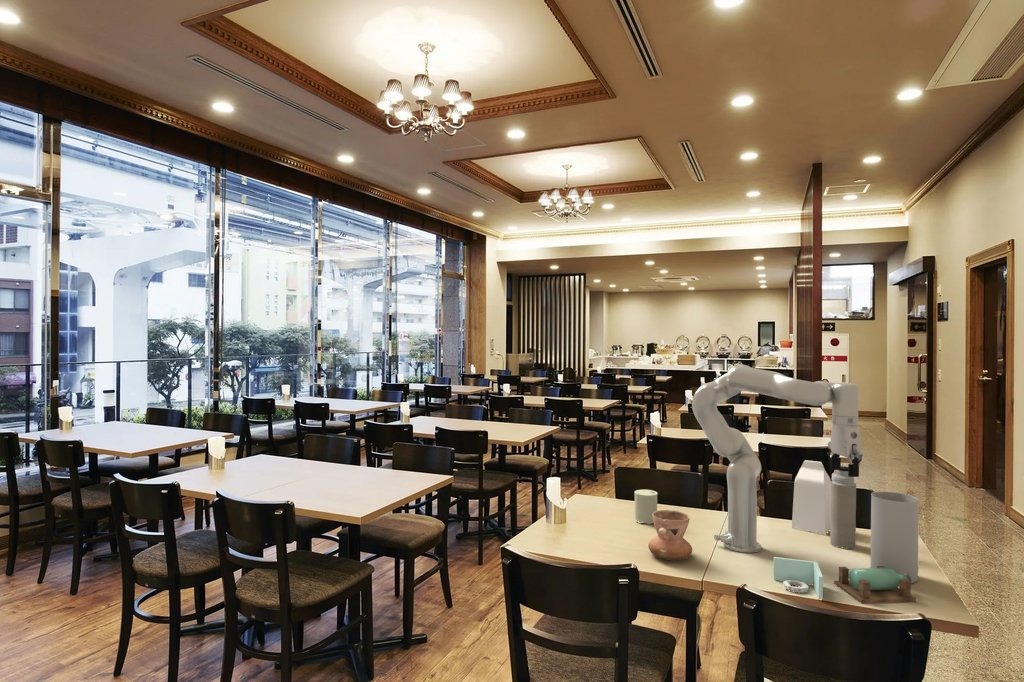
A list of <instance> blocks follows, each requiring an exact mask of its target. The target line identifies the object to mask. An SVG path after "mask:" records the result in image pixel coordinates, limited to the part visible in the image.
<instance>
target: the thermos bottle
mask: <svg viewBox="0 0 1024 682" xmlns="http://www.w3.org/2000/svg"><path fill="white" fill-rule="evenodd" d="M856 513H857V483H855V477H849V476H848V466H843V465H841V469H840V470H835V474H833V475H832V480H831V527H830V531H829V532H830V534H829V535H830V537H829V538H830V539H829V540H830V543H829V544H830V545H831V546H833V545H834V547H836V546H838V547H837V548H839V547H843V548H842V549H845V548H852V549H855V548H856V545H857V544H856V543H857V542H856V541H857V539H856V538H857V533H856V532H857V531H856V530H857V528H856V527H857V523H856V522H857V521H856V519H857V518H856V517H857V516H856ZM854 547H855V548H854Z"/></svg>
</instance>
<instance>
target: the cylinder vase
mask: <svg viewBox="0 0 1024 682" xmlns="http://www.w3.org/2000/svg"><path fill="white" fill-rule="evenodd" d="M870 497H871V498H870V500H871V501H870V504H871V505H870V568H877V566H885V567H886V568H892V569H893V570H894V571H895V572H896V574H903V573H908V574H909V575H910V576H911V584H914V583H916V582H917V581H918V580H919V525H920V524H919V521H920V520H919V519H920V518H919V516H920V515H919V514H920V513H919V510H920V509H919V507H920V506H919V505H920V503H919V501H920V499H919V498H918V497H916V496H913V495H911V494H906V493H901V492H894V491H872V492H871V493H870Z"/></svg>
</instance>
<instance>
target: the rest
mask: <svg viewBox="0 0 1024 682" xmlns="http://www.w3.org/2000/svg"><path fill="white" fill-rule="evenodd" d="M877 568H886V567H885V566H877ZM849 572H850V569H849V568H848V567H847V566H838V580H834V581H833V585H835V584H836V585H837V586H836V585H835V586H836V587H838V588H839V587H840V588H841V590H842V591H843V590H844V591H843V592H844V593H846V594H847V593H848V594H847V595H849V596H850V597H852V598H853V599H854V600H856V601H857V600H858V603H860V602H861V603H860V604H876V603H877V602H878V604H881V603H884V602H888V603H917V599H916V597H914V596H913V595H912V593H911V592H912V589H911V588H912V583H911V581H909V580H907V579H900V583H899V587H898V588H897V589H896V590H870V582H868V581H867V580H859V591H857V590H855V589H854V588H853V587H852V585H851V583H850V579H849ZM840 588H839V589H840ZM879 602H880V603H879ZM884 604H885V603H884Z"/></svg>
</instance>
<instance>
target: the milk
mask: <svg viewBox="0 0 1024 682" xmlns="http://www.w3.org/2000/svg"><path fill="white" fill-rule="evenodd" d="M831 481H832V480H831V478H830V476H829V474H828V473H827V471H826V470H825V466H824V465H823V463H822V461H817V460H815V461H814V460H806V459H805V460H804V461H803V462H802V465H801V467H800V468H799V470H798V472H797V474H796V476H795V478H794V484H793V485H794V486H793V498H792V499H793V502H792V519H791V529H793V528H795V529H794V530H798V529H801V530H800V531H803V530H806V531H805V532H808V531H811V532H810V533H813V532H815V534H818V533H821V534H820V535H823V534H826V533H827V532H828V531H829V530H830V527H831ZM829 532H830V531H829ZM829 532H828V533H829ZM828 533H827V534H828ZM827 534H826V535H827Z"/></svg>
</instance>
